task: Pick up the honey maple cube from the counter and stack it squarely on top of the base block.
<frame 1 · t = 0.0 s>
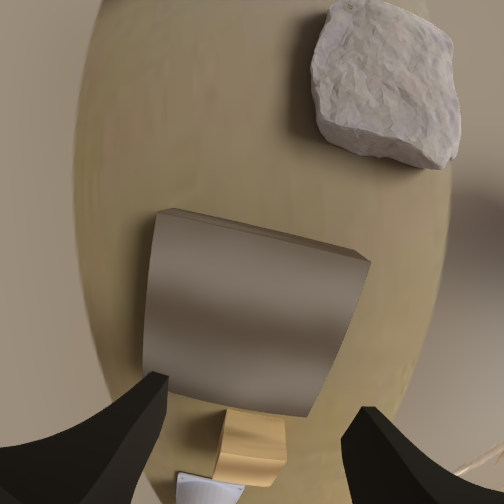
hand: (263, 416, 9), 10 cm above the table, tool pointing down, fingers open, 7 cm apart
stone block: (375, 81, 15), on the table
maple cube: (249, 430, 22), on the table
base block: (244, 314, 19), on the table
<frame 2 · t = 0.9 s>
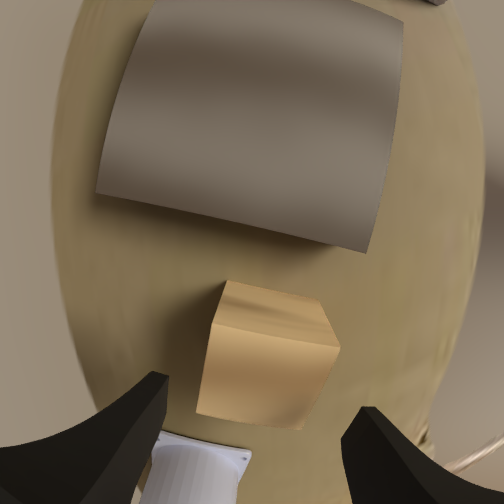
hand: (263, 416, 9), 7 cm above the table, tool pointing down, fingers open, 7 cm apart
maple cube: (262, 330, 15), on the table
base block: (258, 98, 12), on the table
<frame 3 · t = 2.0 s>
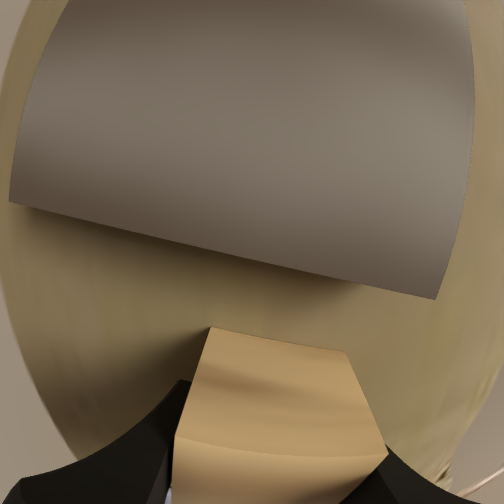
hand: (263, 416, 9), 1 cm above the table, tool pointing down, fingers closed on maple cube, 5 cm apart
maple cube: (263, 391, 10), on the table, touching gripper
base block: (258, 50, 7), on the table
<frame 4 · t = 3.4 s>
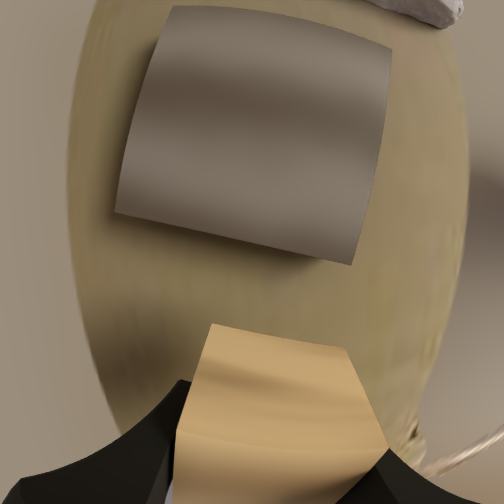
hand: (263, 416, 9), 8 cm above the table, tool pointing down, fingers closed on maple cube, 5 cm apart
maple cube: (264, 388, 10), point 7 cm above the table, touching gripper
base block: (258, 125, 14), on the table
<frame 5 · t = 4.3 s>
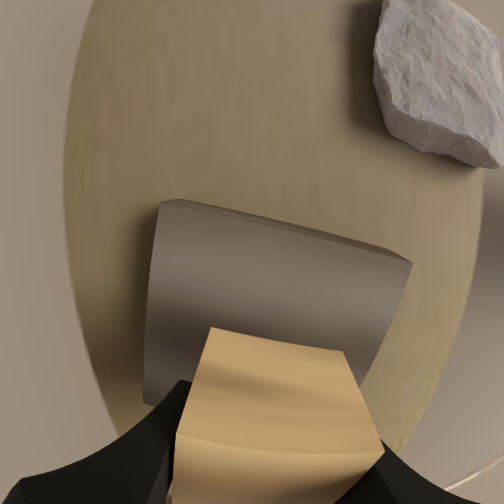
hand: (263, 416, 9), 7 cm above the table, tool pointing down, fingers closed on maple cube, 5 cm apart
stone block: (428, 74, 13), on the table
maple cube: (262, 390, 10), point 6 cm above the table, touching gripper
base block: (262, 323, 16), on the table
when the fingers open (5 cm above the table, at t = 5.1 s): maple cube stays where it is, resting on base block.
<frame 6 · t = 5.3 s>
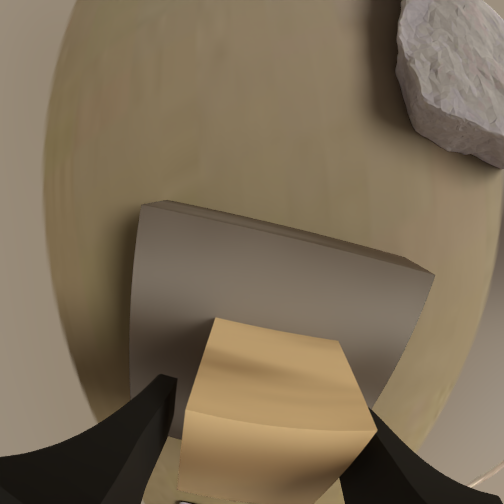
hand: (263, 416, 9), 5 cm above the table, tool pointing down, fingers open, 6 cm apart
stone block: (450, 67, 10), on the table
maple cube: (263, 378, 11), point 3 cm above the table, touching base block
base block: (263, 341, 14), on the table
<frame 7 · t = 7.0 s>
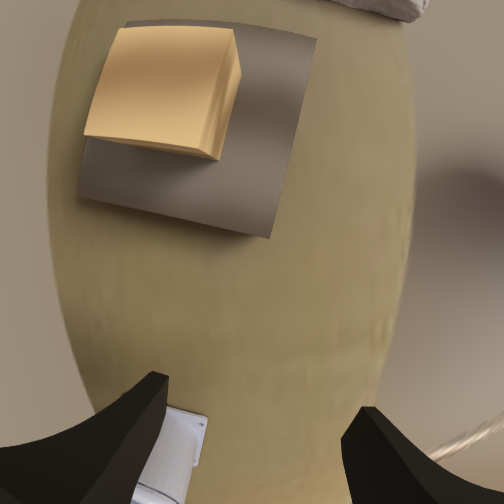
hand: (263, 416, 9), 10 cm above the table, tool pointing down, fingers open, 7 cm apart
maple cube: (185, 108, 13), point 3 cm above the table, touching base block
base block: (197, 119, 16), on the table
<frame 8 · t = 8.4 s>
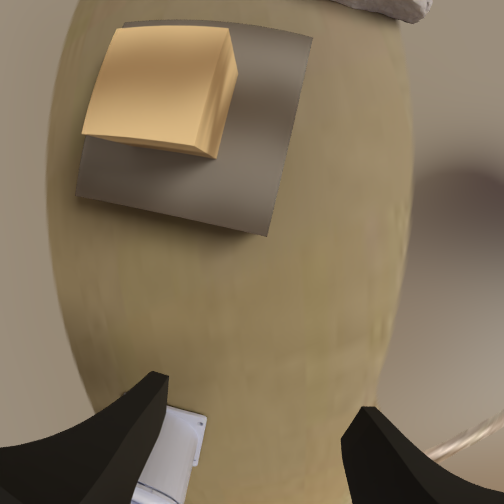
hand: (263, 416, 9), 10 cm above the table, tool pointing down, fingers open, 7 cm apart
maple cube: (182, 108, 13), point 3 cm above the table, touching base block
base block: (194, 118, 16), on the table
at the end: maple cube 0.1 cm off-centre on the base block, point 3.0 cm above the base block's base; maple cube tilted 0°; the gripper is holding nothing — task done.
